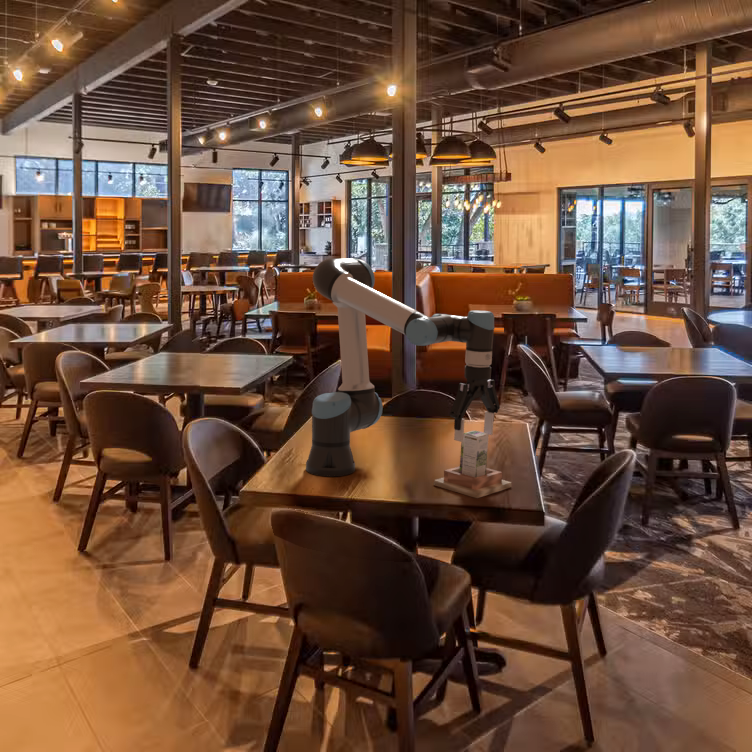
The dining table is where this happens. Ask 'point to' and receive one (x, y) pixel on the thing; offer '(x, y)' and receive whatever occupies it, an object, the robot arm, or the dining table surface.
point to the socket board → (472, 482)
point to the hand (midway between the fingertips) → (473, 437)
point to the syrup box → (474, 453)
